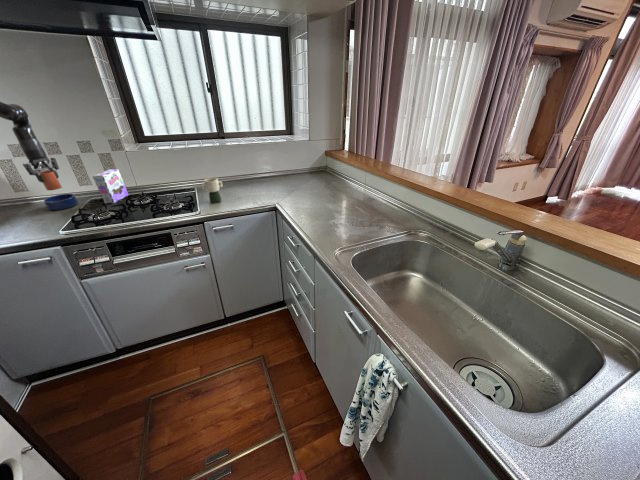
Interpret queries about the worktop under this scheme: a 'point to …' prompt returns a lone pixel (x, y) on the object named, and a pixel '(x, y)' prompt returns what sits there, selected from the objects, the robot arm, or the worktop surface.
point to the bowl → (60, 202)
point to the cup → (50, 180)
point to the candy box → (111, 185)
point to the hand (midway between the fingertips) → (49, 180)
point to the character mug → (213, 188)
